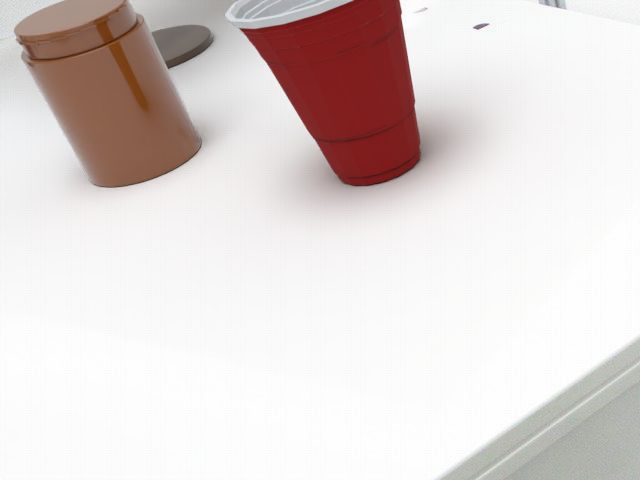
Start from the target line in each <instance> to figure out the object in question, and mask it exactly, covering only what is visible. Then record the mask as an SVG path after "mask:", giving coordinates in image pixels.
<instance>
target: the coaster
mask: <svg viewBox="0 0 640 480" xmlns="http://www.w3.org/2000/svg"><path fill="white" fill-rule="evenodd" d="M150 32H151V34H152V36H153V38H154V40H155V42H156V44H157V47H158V49H159V51H160V53H161V55H162V57H163V59H164V61H165V64H166V66H167V68H168V69H170V68H173V67H176V66H178V65H180V64H183V63H185V62H187V61H189V60H191V59H192V58H194V57H196V56H198V55H199V54H201V53H202V52H203V51H205V50H206V49H207V48H208V47H209V46H210V45H211V44H212V42H213V39H214V36H213V33H212V32H211V29H210V28H208V26H206V25H200V24H182V25H177V26H176V25H175V26H170V27H165V28H162V29H158V30H154V31H150Z"/></svg>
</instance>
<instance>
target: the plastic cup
mask: <svg viewBox="0 0 640 480" xmlns="http://www.w3.org/2000/svg"><path fill="white" fill-rule="evenodd" d="M402 14H403V10H402V5H401V0H237V1H235V2H234V3H232V4H231V5H230V7H229V8H228V10H227V11H226V12H225V13H224V16H225V18H226V19H227V20H228V22H229V23H230V24H231V25H232V26H233V27H234V28H235V29H239V31H241V33H242V34H244V36H245V37H246V39H247V40H248V42H249V43H251V45H252V46H253V47H254V48H255V49H256V51H257V53H258V55H259V56H260V57H261V58H262V60H263V61H264V62H265V63H266V65H267V66H268V68H269V69H270V72H271V73H272V75H273V76H274V78H275V79H276V81H277V83H278V84H279V86H280V87H281V88H280V89H282V91H283V92H284V94H285V96H286V97H287V99H288V101H289V102H290V104H291V106H292V107H293V109H294V111H295V112H296V114H297V116H298V117H299V119H300V120H301V122H302V124H303V126H304V127H305V129H306V130H307V132H308V134H309V135H310V136H311V137H312V139H313V140H314V141H315V143H316V145H317V146H318V148H319V150H320V152H321V153H322V155H323V156H324V159H325V160H326V162H327V164H328V166H329V167H330V169H331V170H332V172H334V173H335V175H336V176H337V177H338V179H339V180H340V181H341V183H344V184H347V185H350V186H368V185H374V184H379V183H384V182H386V181H389V180H392V179H393V178H394V179H395V178H397V177H399V176H401V175H403V174H404V173H406V172H408V171H409V170H411V169H412V168H413V167H414V166H415V165H416V164H417V163H418V162H419V161H420V159H421V137H420V130H419V125H418V124H419V123H418V119H417V112H416V106H415V105H416V97H415V91H414V85H413V78H412V73H411V72H412V71H411V66H410V59H409V54H408V49H407V43H406V37H405V31H404V24H403V18H402Z"/></svg>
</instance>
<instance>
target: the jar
mask: <svg viewBox="0 0 640 480" xmlns="http://www.w3.org/2000/svg"><path fill="white" fill-rule="evenodd" d="M151 32H152V31H151V29H150V28H149V26H148V23H147V21H146V18H145V17H144V16H143V15H142V14H140V13H138V12H135V10H134V8H133V5H132V3H131V0H62V1H61V0H60V1H58V2H56V3H53V4H50V5H48V6H45V7H43V8H41V9H39V10H37V11H35V12H32V13H31V14H29V15H28V16H25V18H23V19H22V20H20V21H19V22H18V23H16V24H15V27H14V28H13V33H14V36H15V42H16V43H17V44H19V46H20V47H21V48H22V52H21V55H20V59H21V61H22V63H23V64H24V66H25V68H26V70H27V71H28V73H29V75H30V77H31V79H32V80H33V83H34V84H35V86H36V88H37V89H38V91H39V93H40V95H41V97H42V98H43V101H44V102H45V104H46V106H47V108H48V110H49V111H50V113H51V115H52V116H53V118H54V120H55V122H56V123H57V126H58V127H59V129H60V131H61V133H62V134H63V136H64V138H65V140H66V142H67V143H68V145H69V147H70V149H71V150H72V152H73V155H74V156H75V158H76V159H77V161H78V163H79V165H80V166H81V168H82V171H83V172H84V173H85V175H86V177H87V179H88V180H89V182H90V183H91V184H93V185H95V186H98V187H104V188H116V187H125V186H131V185H134V184H139V183H142V182H145V181H149V180H151V179H154V178H158V177H159V176H162V175H164V174H167V173H169V172H170V171H173V170H175V169H176V168H178V167H180V166H181V165H184V164H185V163H186V162H187V161H189V160H190V159H191V158H193V157H194V155H196V153H198V151H199V150H200V149H201V146H202V137H201V135H200V134H199V132H198V130H197V127H196V125H195V123H194V120H193V119H192V116H191V115H190V113H189V110H188V108H187V106H186V104H185V102H184V100H183V98H182V95H181V94H180V91H179V89H178V88H177V85H176V83H175V81H174V78H173V76H172V75H171V72H170V70H169V68H167V66H166V64H165V61H164V59H163V57H162V55H161V53H160V51H159V49H158V47H157V44H156V42H155V40H154V38H153V36H152V34H151Z"/></svg>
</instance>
